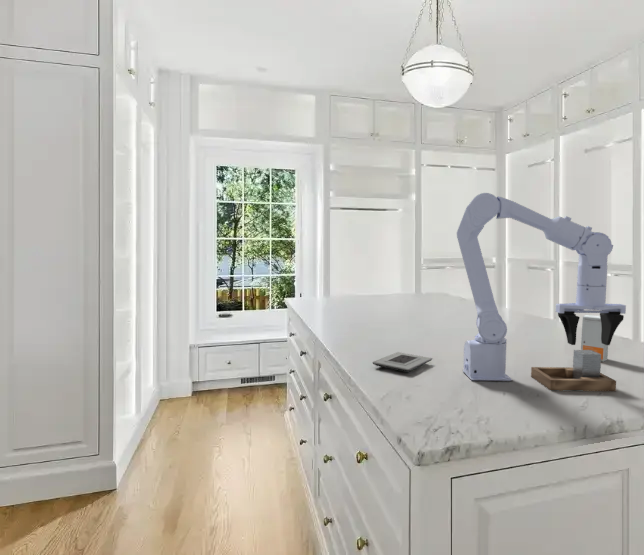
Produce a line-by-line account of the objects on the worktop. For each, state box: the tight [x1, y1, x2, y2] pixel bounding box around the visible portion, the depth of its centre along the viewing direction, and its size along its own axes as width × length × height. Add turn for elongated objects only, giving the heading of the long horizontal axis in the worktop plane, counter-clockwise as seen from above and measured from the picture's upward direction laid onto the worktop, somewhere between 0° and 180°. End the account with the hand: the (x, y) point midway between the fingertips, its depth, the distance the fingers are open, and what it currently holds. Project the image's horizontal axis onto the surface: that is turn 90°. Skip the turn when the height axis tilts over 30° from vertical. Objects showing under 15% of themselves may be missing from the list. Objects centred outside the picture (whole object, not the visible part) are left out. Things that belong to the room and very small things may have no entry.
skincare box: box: [580, 314, 609, 363], centre depth 122 cm, size 6×4×12 cm
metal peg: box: [572, 349, 602, 379], centre depth 101 cm, size 4×4×7 cm
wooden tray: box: [530, 366, 617, 392], centre depth 101 cm, size 14×10×2 cm
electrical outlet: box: [372, 351, 433, 373], centre depth 116 cm, size 13×10×2 cm
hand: (588, 344), depth 100 cm, fingers open, 7 cm apart
